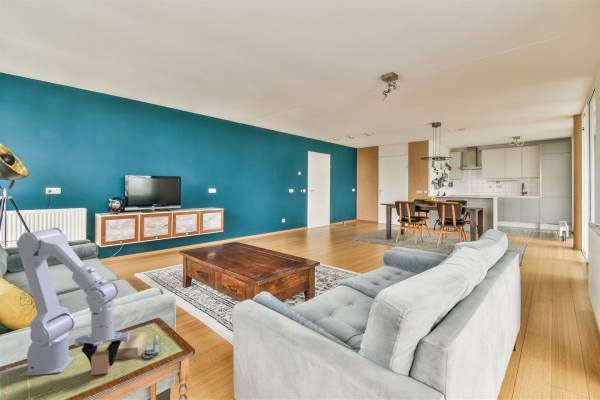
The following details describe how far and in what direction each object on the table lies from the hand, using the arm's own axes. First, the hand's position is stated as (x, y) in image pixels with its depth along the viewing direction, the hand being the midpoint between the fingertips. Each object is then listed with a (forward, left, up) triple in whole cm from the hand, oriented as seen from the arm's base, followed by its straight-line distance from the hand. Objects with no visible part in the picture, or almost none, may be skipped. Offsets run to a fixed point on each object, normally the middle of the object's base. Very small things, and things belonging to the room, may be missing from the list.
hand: (103, 364), depth 89 cm
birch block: (+4, +10, -2) cm, 11 cm away
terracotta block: (0, 0, -2) cm, 2 cm away
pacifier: (+12, +8, -3) cm, 14 cm away
